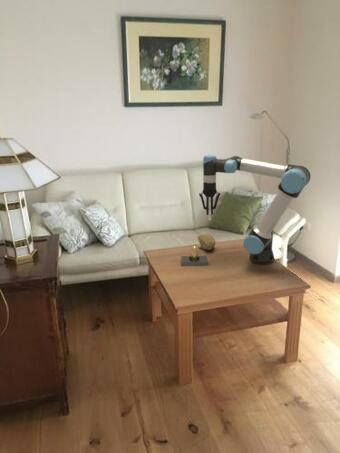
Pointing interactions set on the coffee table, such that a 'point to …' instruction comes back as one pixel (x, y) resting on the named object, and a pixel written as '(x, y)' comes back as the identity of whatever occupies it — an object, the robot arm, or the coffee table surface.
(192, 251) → the gold peg
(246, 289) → the coffee table surface
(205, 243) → the faceted tan rock
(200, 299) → the coffee table surface
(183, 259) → the metal plate with hole
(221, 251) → the coffee table surface
